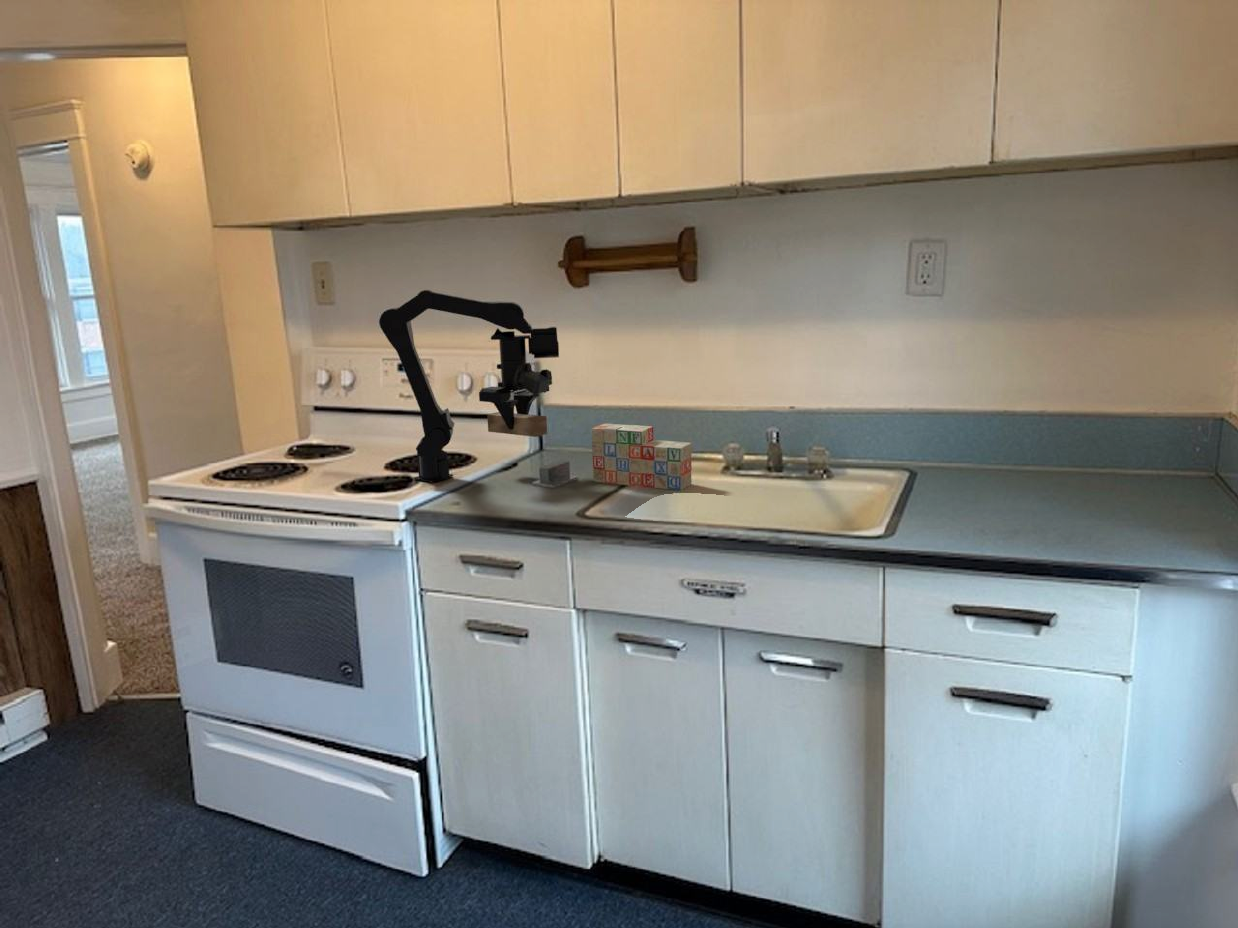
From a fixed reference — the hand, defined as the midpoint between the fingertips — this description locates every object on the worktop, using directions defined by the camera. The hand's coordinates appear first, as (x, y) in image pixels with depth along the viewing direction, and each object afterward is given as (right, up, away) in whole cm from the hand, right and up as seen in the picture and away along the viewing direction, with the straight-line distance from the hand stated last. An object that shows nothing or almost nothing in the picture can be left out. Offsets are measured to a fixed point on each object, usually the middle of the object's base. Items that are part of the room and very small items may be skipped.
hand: (517, 427), depth 198 cm
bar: (0, -1, 0) cm, 1 cm away
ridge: (+9, -12, -5) cm, 16 cm away
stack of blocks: (+28, -13, -7) cm, 32 cm away
